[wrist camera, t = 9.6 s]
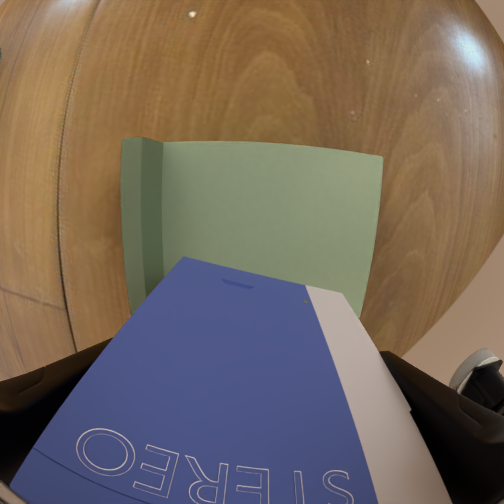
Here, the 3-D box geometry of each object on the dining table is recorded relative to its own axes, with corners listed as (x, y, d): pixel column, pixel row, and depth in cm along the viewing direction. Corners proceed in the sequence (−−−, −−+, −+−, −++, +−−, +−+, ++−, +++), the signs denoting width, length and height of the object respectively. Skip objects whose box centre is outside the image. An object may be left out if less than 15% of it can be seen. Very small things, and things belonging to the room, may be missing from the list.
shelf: (366, 158, 17) (407, 154, 11) (337, 348, 21) (354, 397, 15) (162, 147, 17) (121, 138, 11) (169, 337, 21) (144, 384, 16)
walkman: (175, 306, 13) (56, 535, 2) (183, 255, 12) (-1, 498, 1) (324, 339, 14) (391, 567, 2) (343, 293, 13) (470, 530, 1)
